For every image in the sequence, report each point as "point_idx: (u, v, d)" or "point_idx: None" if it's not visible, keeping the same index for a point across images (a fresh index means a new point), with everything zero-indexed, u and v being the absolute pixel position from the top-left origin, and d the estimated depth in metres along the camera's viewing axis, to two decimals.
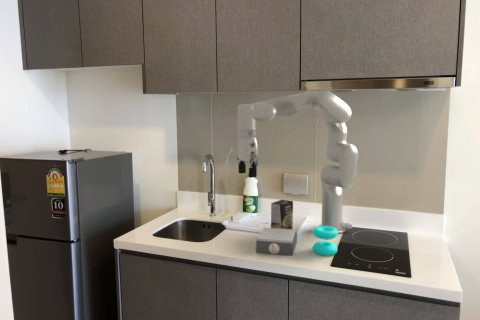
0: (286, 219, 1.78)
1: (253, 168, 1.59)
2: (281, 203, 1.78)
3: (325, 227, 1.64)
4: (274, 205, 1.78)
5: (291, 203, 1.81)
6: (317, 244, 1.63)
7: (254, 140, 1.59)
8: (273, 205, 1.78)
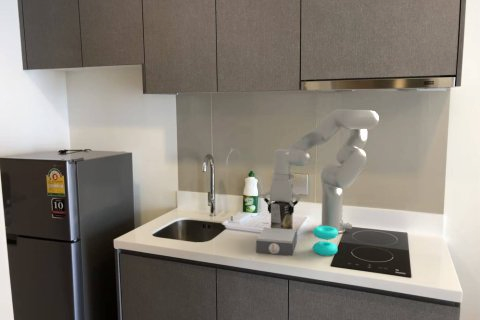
0: (285, 219, 1.78)
1: (293, 206, 1.78)
2: (281, 203, 1.78)
3: (325, 227, 1.64)
4: (274, 205, 1.78)
5: None
6: (317, 244, 1.63)
7: None
8: (273, 205, 1.78)
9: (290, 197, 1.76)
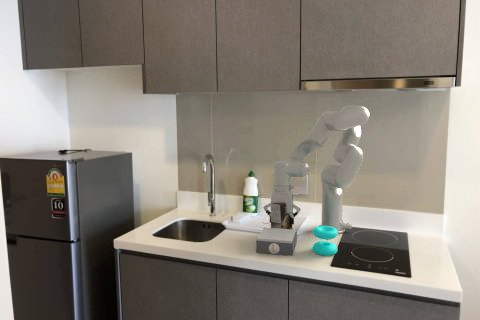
0: (286, 219, 1.78)
1: (293, 218, 1.80)
2: (281, 203, 1.78)
3: (325, 227, 1.64)
4: (274, 205, 1.78)
5: None
6: (317, 244, 1.63)
7: None
8: (273, 205, 1.78)
9: (291, 208, 1.77)
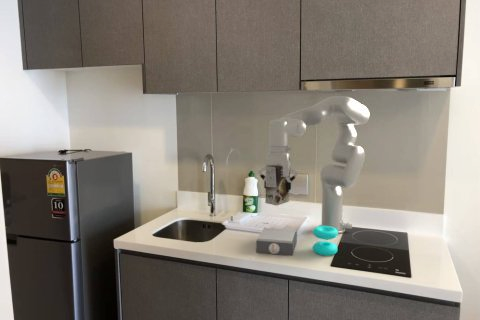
0: (282, 183, 1.63)
1: (290, 182, 1.64)
2: (277, 166, 1.62)
3: (325, 227, 1.64)
4: (269, 168, 1.63)
5: None
6: (317, 244, 1.63)
7: (289, 155, 1.64)
8: (268, 168, 1.63)
9: (287, 171, 1.62)
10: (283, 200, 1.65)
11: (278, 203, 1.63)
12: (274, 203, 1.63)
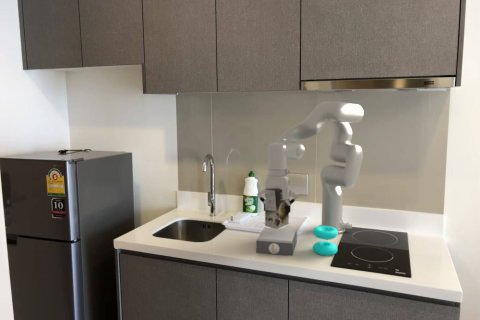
0: (281, 207, 1.63)
1: (290, 205, 1.64)
2: (276, 189, 1.62)
3: (325, 227, 1.64)
4: (269, 191, 1.62)
5: None
6: (317, 244, 1.63)
7: (288, 177, 1.64)
8: (267, 191, 1.62)
9: (287, 195, 1.62)
10: (283, 222, 1.65)
11: (278, 226, 1.62)
12: (274, 226, 1.63)
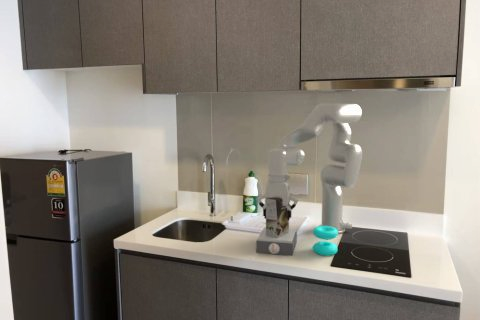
0: (282, 215, 1.63)
1: None
2: (277, 198, 1.63)
3: (325, 227, 1.64)
4: (269, 200, 1.63)
5: None
6: (317, 244, 1.63)
7: (288, 183, 1.64)
8: (268, 200, 1.63)
9: (287, 200, 1.62)
10: (284, 231, 1.66)
11: (279, 235, 1.63)
12: (275, 235, 1.63)
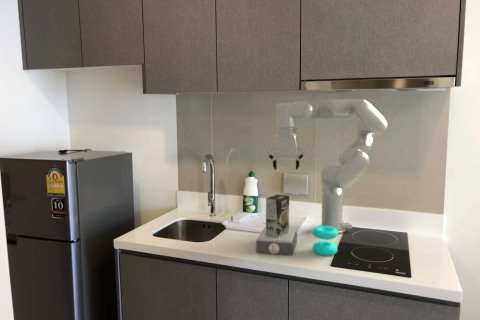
0: (282, 215, 1.63)
1: None
2: (277, 198, 1.63)
3: (325, 227, 1.64)
4: (269, 200, 1.63)
5: (287, 198, 1.66)
6: (317, 244, 1.63)
7: (295, 135, 1.76)
8: (268, 200, 1.63)
9: (295, 151, 1.74)
10: (284, 231, 1.66)
11: (279, 235, 1.63)
12: (275, 235, 1.63)
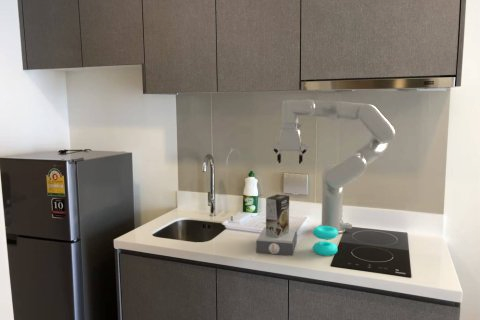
0: (282, 215, 1.63)
1: (302, 155, 1.85)
2: (277, 198, 1.63)
3: (325, 227, 1.64)
4: (269, 200, 1.63)
5: (287, 198, 1.66)
6: (317, 244, 1.63)
7: None
8: (268, 200, 1.63)
9: (299, 146, 1.83)
10: (284, 231, 1.66)
11: (279, 235, 1.63)
12: (275, 235, 1.63)
